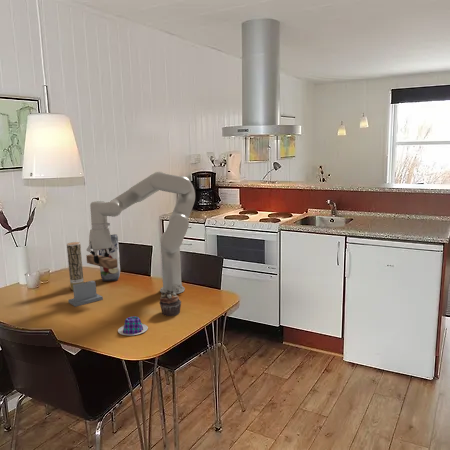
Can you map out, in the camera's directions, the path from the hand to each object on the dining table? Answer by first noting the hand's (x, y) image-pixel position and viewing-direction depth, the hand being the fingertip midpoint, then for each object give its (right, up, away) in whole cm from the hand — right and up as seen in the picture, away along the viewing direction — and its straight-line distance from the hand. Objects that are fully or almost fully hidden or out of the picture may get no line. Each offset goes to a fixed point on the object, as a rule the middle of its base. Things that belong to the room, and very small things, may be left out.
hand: (101, 262), depth 216 cm
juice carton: (-4, -13, +32) cm, 35 cm away
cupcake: (+37, -21, -22) cm, 48 cm away
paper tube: (-18, -16, +16) cm, 29 cm away
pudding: (+24, -25, -40) cm, 53 cm away
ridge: (-7, -19, -4) cm, 20 cm away
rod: (0, -1, 0) cm, 2 cm away
